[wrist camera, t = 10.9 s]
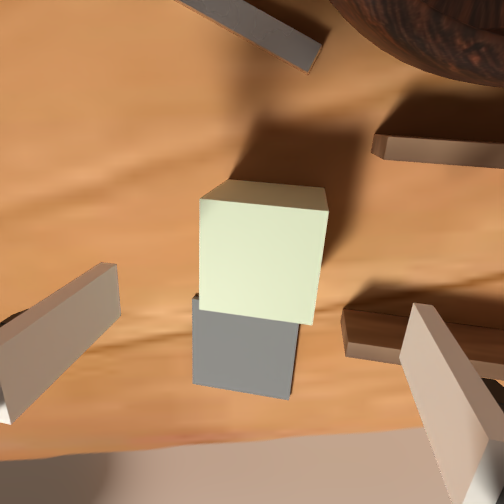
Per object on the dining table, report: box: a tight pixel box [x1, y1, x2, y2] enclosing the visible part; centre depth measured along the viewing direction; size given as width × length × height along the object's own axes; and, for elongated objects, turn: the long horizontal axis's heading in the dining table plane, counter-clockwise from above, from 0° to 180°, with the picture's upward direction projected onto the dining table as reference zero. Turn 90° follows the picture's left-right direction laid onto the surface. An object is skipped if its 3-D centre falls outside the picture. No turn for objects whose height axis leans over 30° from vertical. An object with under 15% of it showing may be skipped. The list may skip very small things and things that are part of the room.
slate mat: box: [192, 296, 299, 400], centre depth 30 cm, size 9×9×1 cm
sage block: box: [199, 179, 329, 325], centre depth 23 cm, size 7×7×7 cm
